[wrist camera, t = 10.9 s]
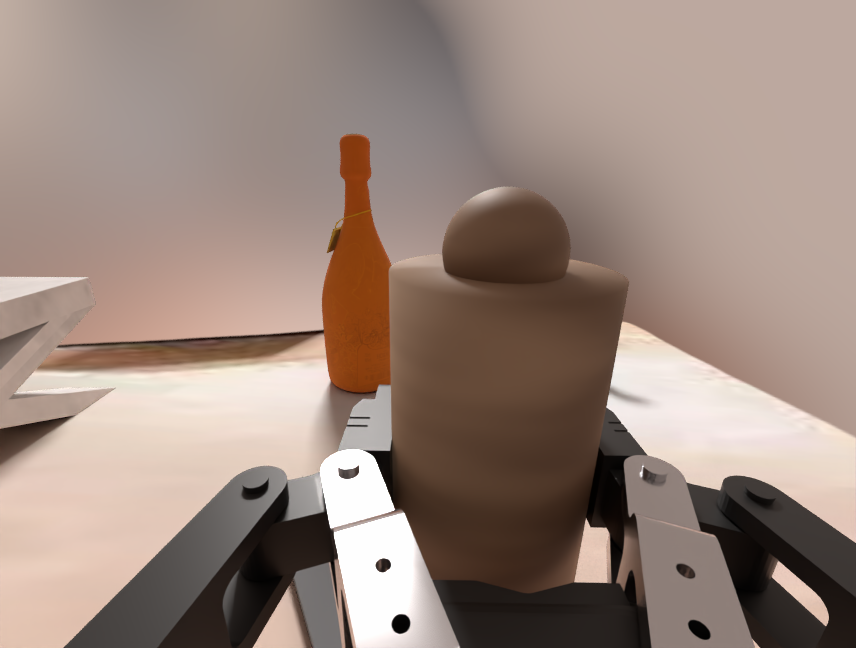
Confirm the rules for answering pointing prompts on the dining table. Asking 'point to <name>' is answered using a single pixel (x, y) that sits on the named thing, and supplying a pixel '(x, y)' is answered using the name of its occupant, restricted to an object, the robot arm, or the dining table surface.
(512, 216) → the pepper mill
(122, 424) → the dining table surface
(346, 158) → the wine bottle
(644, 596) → the robot arm
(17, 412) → the white x-leg bench
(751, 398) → the dining table surface
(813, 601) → the dining table surface
